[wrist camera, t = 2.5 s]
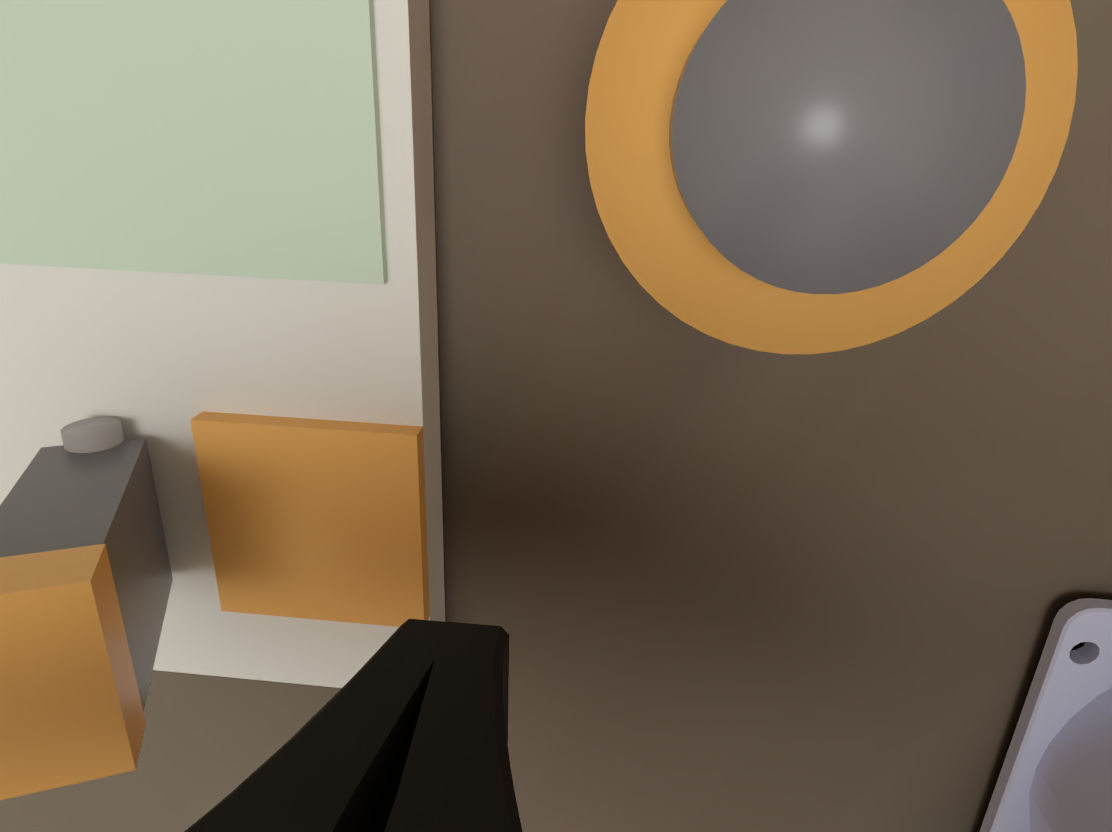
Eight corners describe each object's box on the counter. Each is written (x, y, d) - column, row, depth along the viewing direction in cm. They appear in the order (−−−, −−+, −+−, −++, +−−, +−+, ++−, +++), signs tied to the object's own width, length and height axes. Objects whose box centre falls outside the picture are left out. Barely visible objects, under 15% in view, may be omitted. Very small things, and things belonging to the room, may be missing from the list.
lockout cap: (855, 273, 12) (1046, 394, 7) (595, 260, 13) (569, 364, 7) (913, -28, 11) (1225, -201, 5) (611, -34, 11) (595, -205, 5)
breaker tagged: (180, 578, 15) (138, 783, 10) (83, 593, 14) (-6, 815, 10) (149, 412, 13) (86, 563, 9) (40, 421, 13) (-86, 587, 8)
